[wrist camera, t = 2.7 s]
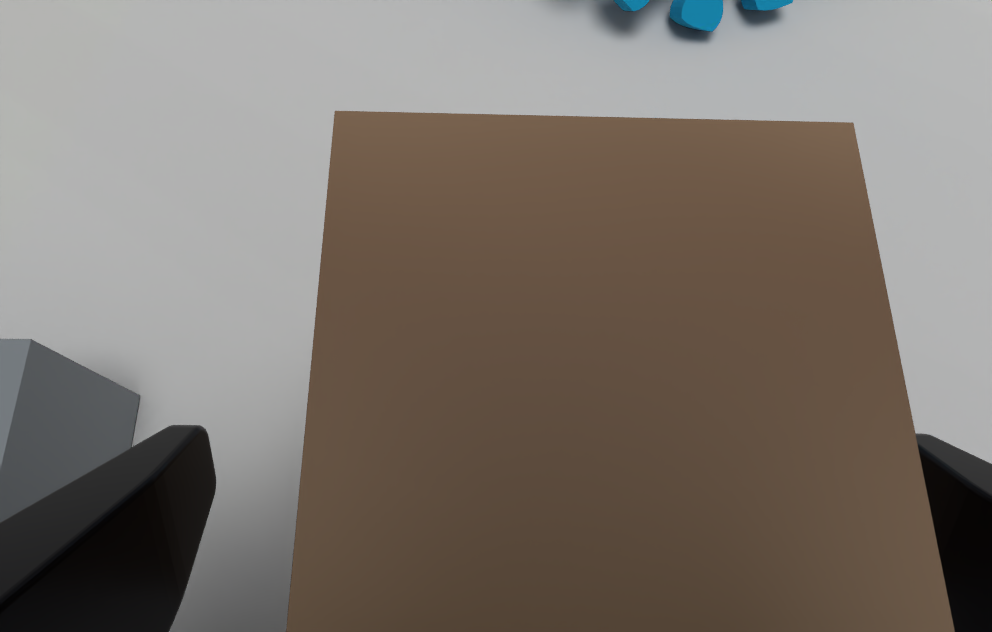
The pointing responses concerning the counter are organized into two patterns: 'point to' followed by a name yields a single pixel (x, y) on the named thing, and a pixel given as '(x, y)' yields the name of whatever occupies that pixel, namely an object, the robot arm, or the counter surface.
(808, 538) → the walnut peg
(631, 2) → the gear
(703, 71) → the counter surface
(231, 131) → the counter surface
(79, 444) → the grey socket block
